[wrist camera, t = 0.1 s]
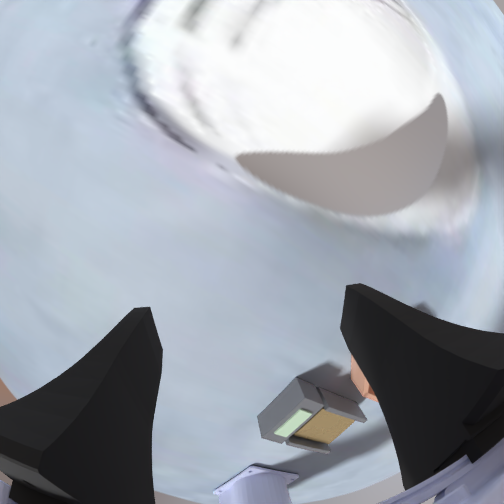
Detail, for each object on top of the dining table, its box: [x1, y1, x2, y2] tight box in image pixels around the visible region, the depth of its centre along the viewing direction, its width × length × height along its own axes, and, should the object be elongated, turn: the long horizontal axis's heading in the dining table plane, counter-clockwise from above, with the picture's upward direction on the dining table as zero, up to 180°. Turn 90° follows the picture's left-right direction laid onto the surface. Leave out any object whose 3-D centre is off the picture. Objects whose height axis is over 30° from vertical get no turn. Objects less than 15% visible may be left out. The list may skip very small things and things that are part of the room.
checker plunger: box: [293, 407, 355, 444], centre depth 23 cm, size 4×5×1 cm
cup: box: [351, 354, 378, 402], centre depth 23 cm, size 8×8×3 cm
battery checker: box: [257, 377, 367, 454], centre depth 23 cm, size 6×9×3 cm, turn 55°
